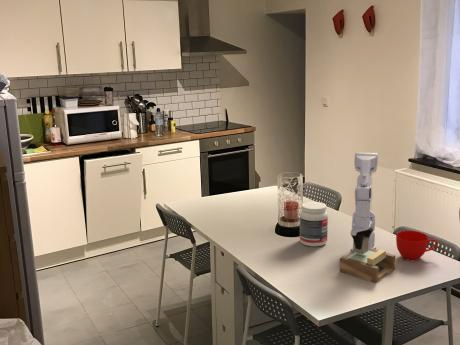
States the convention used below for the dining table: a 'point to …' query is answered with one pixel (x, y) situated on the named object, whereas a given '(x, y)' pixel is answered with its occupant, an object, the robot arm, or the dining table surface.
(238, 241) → the dining table surface
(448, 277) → the dining table surface
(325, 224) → the supplement tub
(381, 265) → the frame
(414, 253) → the ceramic cup
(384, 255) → the trapdoor
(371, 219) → the robot arm
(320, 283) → the dining table surface
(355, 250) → the granite block
